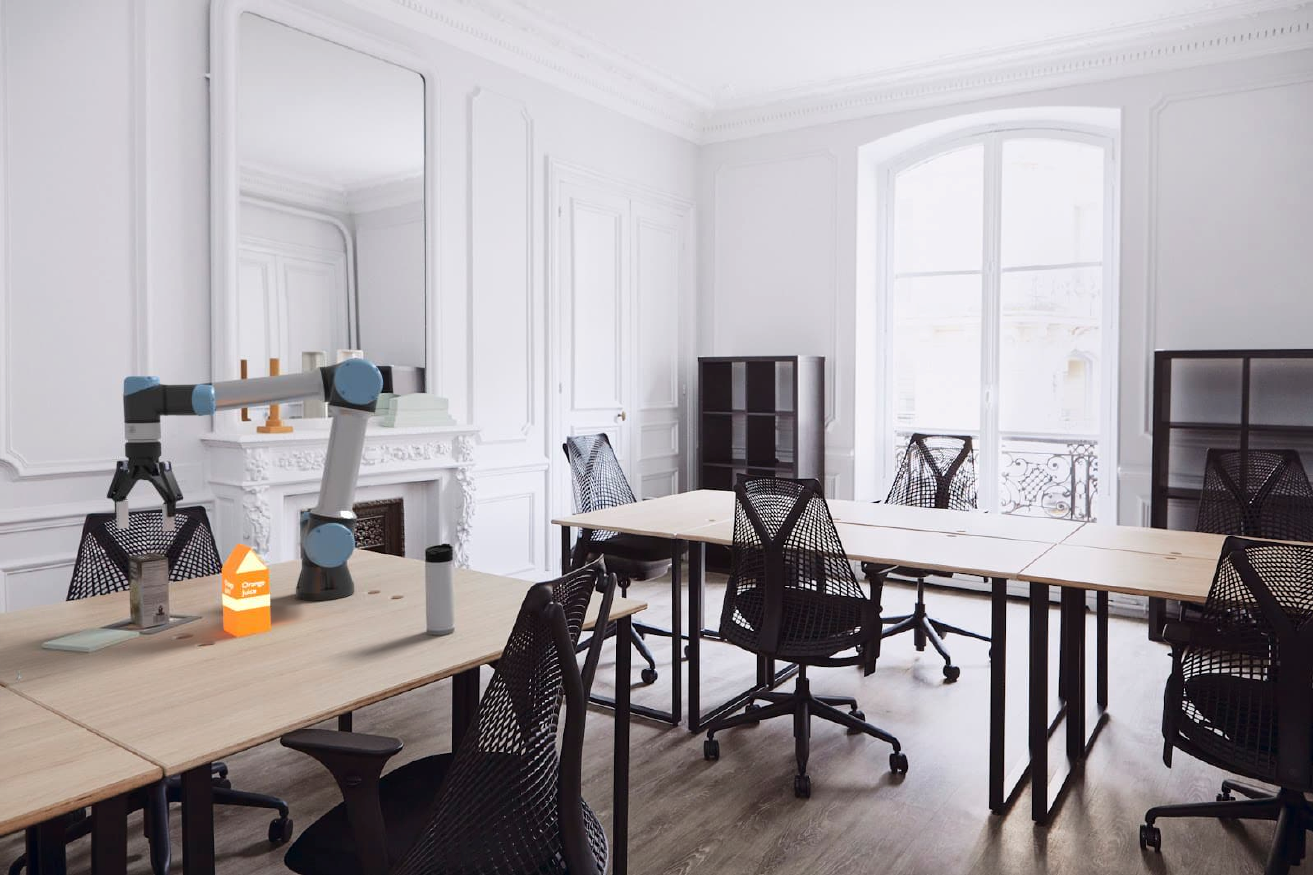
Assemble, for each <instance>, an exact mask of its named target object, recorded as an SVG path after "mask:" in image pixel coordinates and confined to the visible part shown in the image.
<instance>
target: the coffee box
mask: <svg viewBox="0 0 1313 875" xmlns="http://www.w3.org/2000/svg"><path fill="white" fill-rule="evenodd" d="M127 560H128V561H127V562H128V564H127V565H128V588H129V589H128V591H129V611H130V618H131V621H132V622H133V623H132V624H134V625H136V624H137V625H139V626H140V627H142V628H145V627H149V628H152V627H157V626H162V625H165V624H168V623H171V621H170V619H171V617H170V616H169V614H170V592H169V591H170V590H169V589H170V588H169V587H170V586H169V559H168V557H166V556H165V555H162V554H160V553H157V552H153V553H145V554H136V555H130V556H128V557H127ZM151 626H152V627H151Z"/></svg>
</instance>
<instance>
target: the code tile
mask: <svg viewBox="0 0 1313 875" xmlns="http://www.w3.org/2000/svg"><path fill="white" fill-rule="evenodd" d="M169 616H170V623H167V624H161V625H158V626H155V627H153V626H151V627H145V628H142V627H140V626H139V625H137V624H134V623H133V622H132V621H131V617H129V618H126V619H124V620H120V621H118V622H113V623H110V624H107V625H104V626H101V627H99V628H101V629H113V630H125V631H137V632H139V634H142V635H154V634H156V633H161V632H163V631H165V630H170V629H172V628H175V627H178V626H182V625H185V624H188V623H190V622H194V621H196V620H199V619H203V616H198V615H185V614H173V613H172V614H171V613H169ZM174 618H179V619H178V620H175V619H174ZM173 620H175V621H173ZM130 624H133V625H130ZM126 625H130V626H126ZM123 626H126V627H125V628H120V627H123ZM149 628H150V629H149ZM145 629H146V630H145Z"/></svg>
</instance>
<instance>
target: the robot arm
mask: <svg viewBox="0 0 1313 875" xmlns="http://www.w3.org/2000/svg"><path fill="white" fill-rule="evenodd" d="M383 385H384V381H383V375H382V373H381V371H380V370H379V368H378V367H377V365H375V364H374V363H373V362H372V361H369V360H367V359H364V358H359V357H357V358H356V357H355V358H354V357H352V358H348V359H346V360H343V361H341V362H338V363H336V364H331V365H327V366H318V367H317V368H316V369H315V370H313V371H309V372H308V371H307V372H306V371H305V372H298V373H288V374H279V375H270V376H261V377H252V378H243V379H242V378H241V379H234V380H226V381H225V380H224V381H223V380H222V381H215V382H214V381H213V382H204V383H197V384H196V383H195V384H162V383H161V382H160V378H159V377H158V376H154V375H153V376H150V375H148V376H147V375H146V376H145V375H144V376H143V375H141V376H139V375H137V376H136V375H133V376H132V375H131V376H130V375H129V376H126V377H125V378H124V379H123V394H122V396H123V397H122V398H123V399H122V400H123V416H124V417H123V420H124V421H123V422H124V439H125V440H126V442H125V443H124V452H125V453H124V454H125V455H124V456H125V457H126V458H127V459H125V460H117V461H116V469H115V472H114V476H113V478H112V481H111V483H110V485H109V488H108V492H107V493H106V498H107V499H108V500H113V503H114V514H115V515H116V529H117V530H121V529H122V530H123V529H127V528H130V522H129V518H130V516H129V500H128V498H127V497H128V495H129V494H130V492H132V490H133V488H134V486H135V485H136V484H137V483H138V482H139V481H141V480H142V481H148V482H149V483H151V484H152V485H153V487H154V488H155V489H156V490H155V491H157V492H158V494H159V496H160V497H161V499H162V500H163V503H162V504H161V507H162V508H161V509H162V532H164V533H165V532H170V531H175V529H176V528H175V517H176V516H177V507H176V506H177V502H180V501H183V500H184V496H183V494H182V491H181V489H180V486H179V484H178V482H177V479H176V477H175V474H174V472H173V467H172V462H171V461H169V460H168V461H160V457H161V456H162V442H160V441H159V440H161V439H162V430H161V429H162V428H161V425H162V424H161V416H165V417H166V416H177V417H178V416H182V417H184V416H185V417H187V416H189V417H190V416H192V417H193V416H194V417H195V416H197V417H204V416H213V415H214V414H215V413H216V412H222V411H231V410H237V409H238V410H239V409H247V408H248V409H249V408H257V407H266V406H272V405H274V406H275V405H283V404H290V403H291V404H292V403H301V402H309V401H316V400H318V401H320V402H321V403H328V408H329V409H330V410H331V412H332V413H333V414H332V421H331V427H330V433H329V438H328V444H327V450H326V456H325V461H324V466H323V467H324V468H323V471H322V472H323V473H322V476H321V477H322V478H321V484H320V489H319V493H318V495H319V496H318V501H317V505H316V506H314V507H313V508H311V509H310V511H308V512H307V511H306V512H305V511H304V512H302V514H301V515H300V521H299V526H300V546H301V547H300V548H301V553H300V554H301V570H300V573H299V577H298V580H297V584H296V586H295V598H296V599H298V600H303V601H327V600H335V599H340V598H346V597H348V596H352V595H353V594H354V593H355V583H354V581H353V577H352V575H351V572H350V569H349V567H348V560H349V559H350V558H351V557H352V555H353V553H354V550H355V547H356V543H355V542H356V539H355V536H354V535H355V530H356V524H357V519H358V516H357V515H356V513H355V512H354V511H353V507H354V501H355V495H356V490H357V485H358V484H357V483H358V478H359V472H360V467H361V460H362V455H363V451H364V450H363V449H364V443H365V439H366V433H367V432H366V431H367V427H368V421H369V419H370V418H372V417H373V416H374V415H375V414H376V411H377V410H376V409H377V405H378V397H379V396H380V394H381V392H382V390H383Z"/></svg>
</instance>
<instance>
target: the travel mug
mask: <svg viewBox="0 0 1313 875" xmlns="http://www.w3.org/2000/svg"><path fill="white" fill-rule="evenodd" d="M424 550H425V551H424V555H425V560H424V562H425V565H424V568H425V570H424V571H425V572H424V574H425V577H424V578H425V614H426V615H425V620H426V622H425V623H426V633H427V634H428V635H430V636H446V635H450V634H453V633H454V632H455V587H454V584H455V582H454V556H453V555H454V553H453V552H454V549H453V546H452V545H451V544H450V543H441V544H438V545H437V544H436V545H432V546H428V547H426V549H424Z"/></svg>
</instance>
